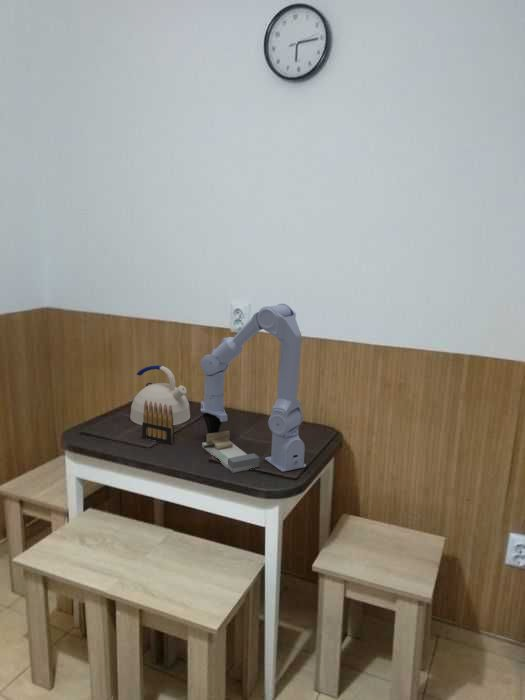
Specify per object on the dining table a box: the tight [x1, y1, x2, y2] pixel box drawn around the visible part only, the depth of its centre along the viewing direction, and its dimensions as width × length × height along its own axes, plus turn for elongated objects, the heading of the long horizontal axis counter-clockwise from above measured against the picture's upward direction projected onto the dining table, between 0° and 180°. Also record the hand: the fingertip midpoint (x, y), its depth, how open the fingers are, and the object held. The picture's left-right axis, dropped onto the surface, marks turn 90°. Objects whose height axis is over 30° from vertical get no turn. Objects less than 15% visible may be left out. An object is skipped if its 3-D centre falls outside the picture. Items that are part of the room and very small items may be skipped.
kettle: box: [129, 365, 191, 426], centre depth 182 cm, size 20×21×18 cm
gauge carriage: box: [203, 430, 234, 449], centre depth 156 cm, size 5×9×3 cm, turn 120°
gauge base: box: [201, 441, 260, 474], centre depth 152 cm, size 20×8×3 cm, turn 30°
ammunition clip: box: [141, 400, 176, 446], centre depth 161 cm, size 11×2×12 cm, turn 65°
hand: (213, 437), depth 162 cm, fingers closed
